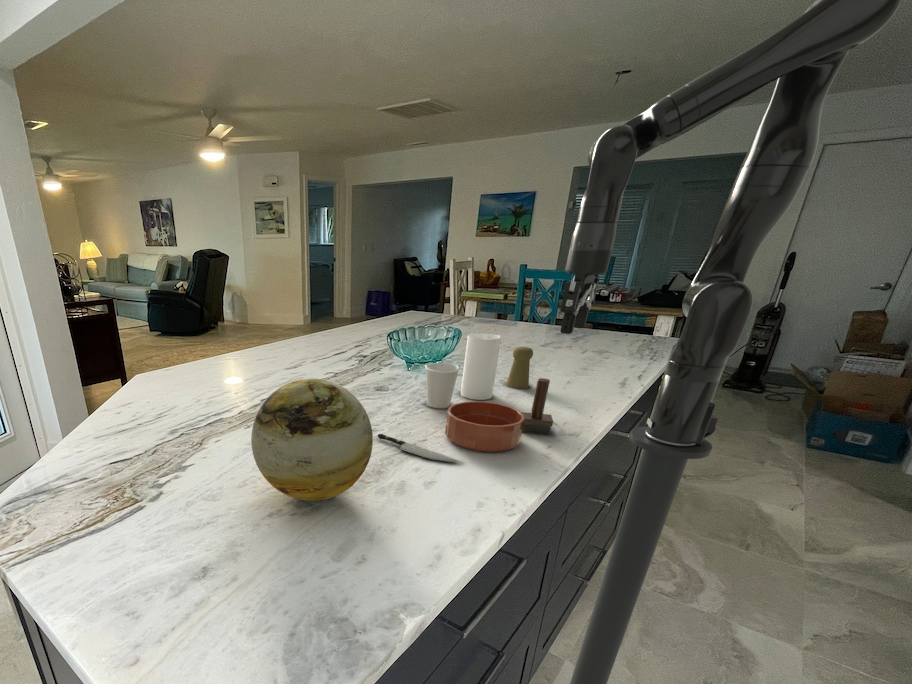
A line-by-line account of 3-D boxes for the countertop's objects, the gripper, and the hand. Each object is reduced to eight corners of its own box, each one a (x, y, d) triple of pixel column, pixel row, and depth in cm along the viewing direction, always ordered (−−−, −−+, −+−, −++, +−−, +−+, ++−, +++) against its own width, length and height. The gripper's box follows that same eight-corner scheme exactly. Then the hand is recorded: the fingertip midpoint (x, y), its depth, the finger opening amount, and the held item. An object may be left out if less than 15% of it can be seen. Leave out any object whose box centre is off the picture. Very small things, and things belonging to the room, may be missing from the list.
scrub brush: (548, 427, 106) (559, 378, 101) (550, 435, 102) (561, 383, 97) (517, 424, 108) (527, 375, 103) (518, 431, 104) (528, 381, 99)
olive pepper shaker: (522, 389, 132) (529, 350, 127) (502, 385, 136) (508, 347, 131) (532, 385, 135) (539, 347, 131) (512, 380, 139) (518, 344, 135)
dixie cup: (432, 411, 116) (436, 372, 112) (415, 401, 124) (419, 364, 119) (461, 407, 119) (466, 369, 115) (443, 398, 126) (447, 361, 122)
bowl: (517, 430, 105) (522, 405, 102) (521, 458, 92) (526, 430, 89) (447, 422, 110) (450, 398, 107) (441, 448, 97) (444, 421, 94)
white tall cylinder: (473, 388, 133) (481, 331, 126) (498, 396, 127) (508, 336, 120) (454, 394, 129) (461, 335, 122) (478, 401, 123) (487, 340, 116)
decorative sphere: (271, 463, 91) (265, 363, 83) (373, 470, 88) (378, 366, 80) (240, 519, 74) (229, 398, 65) (366, 530, 70) (371, 404, 62)
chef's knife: (452, 468, 88) (460, 462, 90) (453, 463, 88) (460, 457, 90) (370, 441, 100) (378, 436, 102) (370, 436, 100) (379, 431, 102)
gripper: (602, 249, 86) (581, 338, 93) (621, 247, 95) (601, 328, 102) (558, 248, 91) (542, 333, 97) (581, 246, 100) (564, 324, 107)
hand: (572, 330), depth 100 cm, fingers open, 8 cm apart
